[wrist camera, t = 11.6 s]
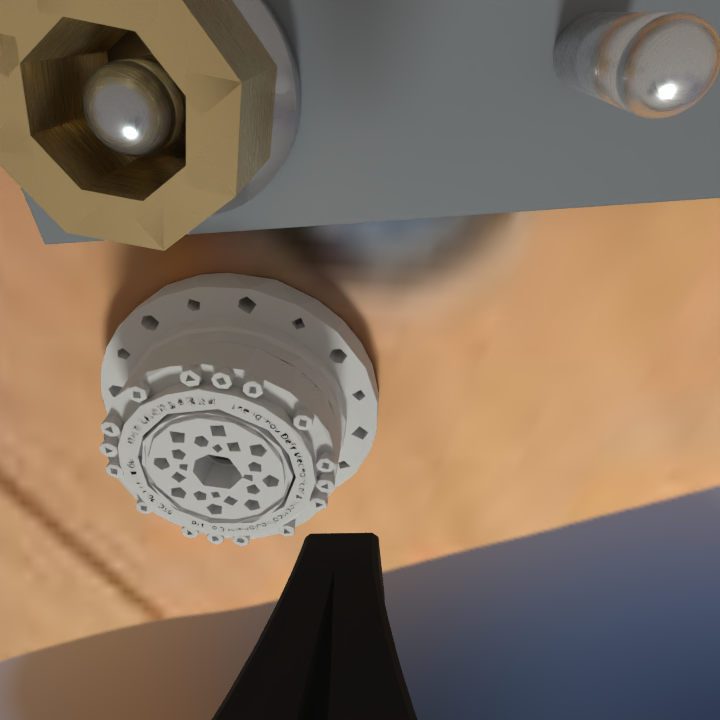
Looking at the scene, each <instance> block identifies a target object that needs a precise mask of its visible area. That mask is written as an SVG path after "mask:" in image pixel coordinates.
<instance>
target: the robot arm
mask: <svg viewBox="0 0 720 720" xmlns="http://www.w3.org/2000/svg"><path fill="white" fill-rule="evenodd" d="M384 600H385V599H384V586H383V577H382V567H381V558H380V548H379V539H378V537H377V536H376V535H375V534H373V533H331V534H309V535H308V536H307V537H306V538H305V540H304V543H303V546H302V548H301V551H300V553H299V556H298V558H297V561H296V563H295V566H294V568H293V570H292V573H291V575H290V577H289V579H288V582H287V584H286V586H285V588H284V590H283V592H282V594H281V596H280V599H279V601H278V603H277V605H276V607H275V609H274V611H273V613H272V615H271V616H270V619H269V620H268V622H267V624H266V626H265V628H264V630H263V632H262V634H261V636H260V638H259V640H258V642H257V644H256V645H255V647H254V649H253V651H252V653H251V654H250V656H249V658H248V660H247V661H246V663H245V665H244V667H243V669H242V670H241V672H240V674H239V675H238V677H237V679H236V680H235V682H234V684H233V686H232V687H231V689H230V691H229V693H228V694H227V696H226V698H225V699H224V701H223V702H222V704H221V706H220V707H219V709H218V710H217V712H216V714H215V715H214V717H213V719H212V720H417V717H416V714H415V711H414V708H413V706H412V702H411V699H410V696H409V692H408V690H407V686H406V683H405V679H404V676H403V673H402V670H401V666H400V663H399V659H398V656H397V652H396V649H395V644H394V641H393V636H392V632H391V628H390V624H389V621H388V616H387V611H386V607H385V601H384Z"/></svg>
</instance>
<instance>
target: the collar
mask: <svg viewBox="0 0 720 720" xmlns="http://www.w3.org/2000/svg"><path fill="white" fill-rule="evenodd" d="M128 30H131V31H135V32H136V33H137V34H138V35H139V37H140V38H141V39H142V41H143V42H144V43H145V44H146V46H147V47H148V48H149V50H150V51H151V52H152V53H153V55H154V56H155V57H156V59H157V60H158V61H159V62H160V64H161V65H162V66H163V68H164V69H165V70H166V71H167V73H168V74H169V75H170V77H171V78H172V79H173V80H174V82H175V83H176V84H177V86H178V87H179V88H180V89H181V91H182V92H183V93H184V95H185V96H186V159H181V158H176V157H171V156H166V155H160V154H152V155H149V156H143V157H134V156H128V155H124V154H121V153H119V152H116V151H114V150H112V149H111V148H109V147H108V146H107V145H105V144H104V143H103V142H102V141H101V140H100V139H99V138H98V137H97V136H96V135H95V134H94V132H93V131H92V129H91V128H90V126H89V124H88V122H87V119H86V117H85V113H84V108H83V92H84V88H85V85H86V83H87V80H88V79H89V77H90V75H91V74H92V73H93V72H94V71H95V70H96V69H97V68H99V67H100V66H102V65H103V64H105V63H108V58H107V51H108V50H109V49H110V48H111V47H112V46H113V45H114V44H115V43H116V42H117V41H118V40H119V39H120V38H121V37H122V36H123V35H124V34H125V33H126V32H127V31H128ZM277 67H278V66H277V65H276V63H275V62H274V60H273V59H272V57H271V56H270V55H269V53H268V52H267V50H266V49H265V47H264V46H263V44H262V43H261V41H260V40H259V38H258V37H257V35H256V34H255V33H254V31H253V30H252V28H251V27H250V25H249V24H248V22H247V21H246V19H245V18H244V16H243V15H242V13H241V12H240V11H239V9H238V8H237V6H236V5H235V3H234V2H233V0H0V166H1V167H2V168H3V169H4V170H5V171H6V172H7V173H8V174H9V175H10V176H11V177H12V178H13V179H14V180H15V181H16V182H17V183H18V184H19V185H20V186H21V187H22V188H23V189H24V190H25V191H26V192H27V193H28V194H29V195H30V196H31V197H32V198H33V199H34V201H35V202H36V203H37V204H38V205H39V206H40V207H41V208H42V209H43V210H44V211H45V212H46V213H47V214H48V215H49V216H50V217H51V218H52V219H53V220H54V221H55V222H56V223H57V224H58V225H59V226H60V227H61V228H62V229H63V230H64V231H65V232H66V233H71V234H76V235H81V236H87V237H92V238H97V239H103V240H108V241H114V242H119V243H124V244H130V245H135V246H141V247H146V248H151V249H157V250H162V251H165V250H166V249H167V248H169V247H170V246H171V245H173V244H174V243H175V242H177V241H178V240H179V239H181V238H182V237H183V236H185V235H186V234H187V233H188V232H190V231H191V230H192V229H194V228H195V227H196V226H198V225H199V224H200V223H202V222H203V221H204V220H206V219H207V218H208V217H209V216H211V215H212V214H213V213H215V212H216V211H217V210H219V209H220V208H221V207H223V206H224V205H225V204H226V203H228V202H229V201H230V200H232V199H233V198H234V197H236V196H237V195H238V194H239V192H240V191H241V190H242V189H243V188H244V187H245V185H246V184H247V183H248V182H249V181H250V180H251V179H252V177H253V176H254V175H255V174H256V173H257V172H258V171H259V169H260V168H261V167H262V166H263V165H264V164H265V163H266V161H267V160H268V159H269V158H270V152H271V140H272V128H273V115H274V103H275V91H276V79H277Z"/></svg>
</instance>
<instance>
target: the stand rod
mask: <svg viewBox="0 0 720 720" xmlns="http://www.w3.org/2000/svg"><path fill="white" fill-rule="evenodd" d="M553 66H554V70H555V73H556V75H557V76H558V78H559V79H560V80H561V81H562V82H563V83H564V84H566V85H567V86H569V87H572V88H574V89H576V90H579V91H581V92H583V93H586V94H588V95H590V96H593V97H595V98H597V99H600V100H602V101H604V102H607V103H609V104H611V105H614V106H616V107H618V108H621V109H623V110H626V111H628V112H630V113H633V114H635V115H637V116H640V117H644V118H649V119H661V118H667V117H671V116H674V115H677V114H679V113H681V112H683V111H685V110H687V109H689V108H690V107H692V106H693V105H694V104H695V103H697V102H698V101H699V100H700V99H701V98H702V97H703V96H704V95H705V94H706V92H707V91H708V90H709V89H710V87H711V86H712V84H713V82H714V80H715V79H716V76H717V74H718V71H719V68H720V38H719V36H718V33H717V32H716V30H715V28H714V27H713V26H712V25H711V24H710V23H709V22H708V21H707V20H706V19H704V18H703V17H701V16H699V15H696V14H693V13H688V12H590V13H586V14H582V15H580V16H578V17H577V18H575V19H573V20H572V21H571V22H570V23H569V24H568V25H567V26H566V27H565V28H564V29H563V30H562V32H561V33H560V35H559V37H558V39H557V41H556V43H555V46H554V50H553Z"/></svg>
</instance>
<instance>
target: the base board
mask: <svg viewBox="0 0 720 720" xmlns="http://www.w3.org/2000/svg"><path fill="white" fill-rule="evenodd" d="M267 1H268V2H269V3H270V5H271V6H272V7H273V9H274V10H275V12H276V13H277V15H278V17H279V19H280V20H281V22H282V24H283V26H284V27H285V30H286V32H287V34H288V37H289V39H290V41H291V43H292V46H293V50H294V53H295V56H296V59H297V63H298V68H299V74H300V79H301V92H302V103H301V116H300V122H299V128H298V132H297V135H296V138H295V142H294V144H293V146H292V149H291V151H290V153H289V155H288V157H287V159H286V160H285V162H284V164H283V165H282V167H281V168H280V170H279V171H278V172H277V174H276V175H275V176H274V178H273V179H272V180H271V181H270V182H269V184H268V185H267V186H266V187H265V188H264V189H263V190H262V191H261V192H260V193H259V194H257V195H256V196H255V197H254V198H253V199H251V200H249V201H248V202H246V203H245V204H243V205H241V206H239V207H237V208H235V209H233V210H230V211H227V212H224V213H220V214H217V215H211V216H209V217H208V218H207V219H206V220H204V221H203V222H202V223H200V224H199V225H198V226H196V227H195V228H194V229H192V230H191V231H190V232H188V233H187V234H186V235H189V234H204V233H218V232H233V231H247V230H261V229H276V228H290V227H305V226H319V225H334V224H348V223H362V222H377V221H391V220H406V219H420V218H435V217H449V216H464V215H478V214H492V213H507V212H521V211H536V210H550V209H565V208H579V207H594V206H608V205H622V204H637V203H651V202H666V201H680V200H695V199H709V198H720V68H719V71H718V74H717V76H716V79H715V80H714V82H713V84H712V86H711V87H710V89H709V90H708V91H707V92H706V94H705V95H704V96H703V97H702V98H701V99H700V100H699V101H698V102H697V103H695V104H694V105H693V106H692V107H690V108H689V109H687V110H685V111H683V112H681V113H679V114H677V115H674V116H671V117H667V118H661V119H649V118H644V117H640V116H637V115H635V114H633V113H630V112H628V111H626V110H623V109H621V108H618V107H616V106H614V105H611V104H609V103H607V102H604V101H602V100H600V99H597V98H595V97H593V96H590V95H588V94H586V93H583V92H581V91H579V90H576V89H574V88H572V87H569V86H567V85H566V84H564V83H563V82H562V81H561V80H560V79H559V78H558V76H557V75H556V73H555V70H554V66H553V50H554V46H555V43H556V41H557V39H558V37H559V35H560V33H561V32H562V30H563V29H564V28H565V27H566V26H567V25H568V24H569V23H570V22H571V21H572V20H573V19H575V18H577V17H578V16H580V15H582V14H586V13H590V12H688V13H693V14H696V15H699V16H701V17H703V18H704V19H706V20H707V21H708V22H709V23H710V24H711V25H712V26H713V27H714V28H715V30H716V32H717V33H718V36H719V38H720V0H267ZM21 188H22V187H21ZM22 191H23V193H24V196H25V198H26V200H27V203H28V205H29V208H30V210H31V212H32V215H33V217H34V219H35V222H36V224H37V227H38V229H39V231H40V234H41V236H42V239H43V241H44V243H45V244H59V243H74V242H88V241H103V239H97V238H92V237H87V236H81V235H76V234H71V233H66V232H65V231H64V230H63V229H62V228H61V227H60V226H59V225H58V224H57V223H56V222H55V221H54V220H53V219H52V218H51V217H50V216H49V215H48V214H47V213H46V212H45V211H44V210H43V209H42V208H41V207H40V206H39V205H38V204H37V203H36V202H35V201H34V199H33V198H32V197H31V196H30V195H29V194H28V193H27V192H26V191H25V190H24V189H23V188H22Z"/></svg>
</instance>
